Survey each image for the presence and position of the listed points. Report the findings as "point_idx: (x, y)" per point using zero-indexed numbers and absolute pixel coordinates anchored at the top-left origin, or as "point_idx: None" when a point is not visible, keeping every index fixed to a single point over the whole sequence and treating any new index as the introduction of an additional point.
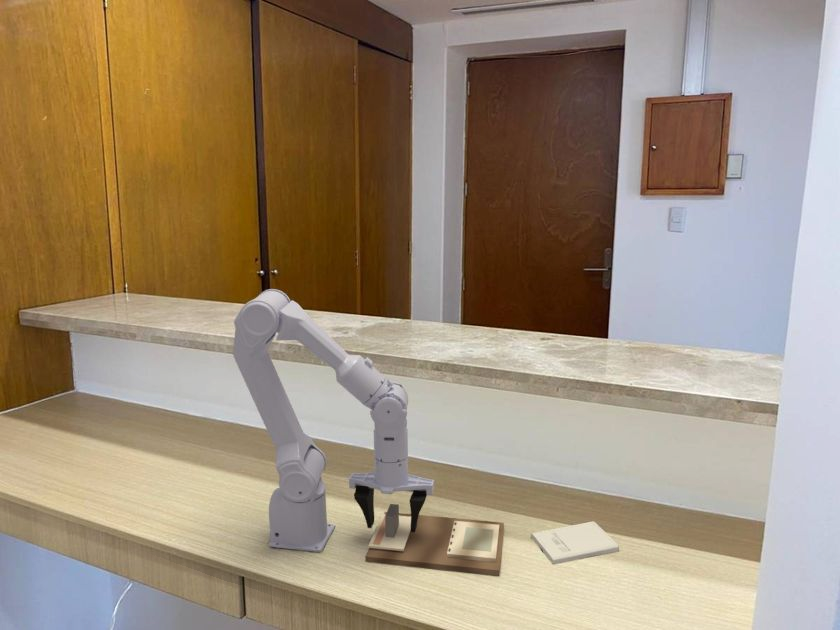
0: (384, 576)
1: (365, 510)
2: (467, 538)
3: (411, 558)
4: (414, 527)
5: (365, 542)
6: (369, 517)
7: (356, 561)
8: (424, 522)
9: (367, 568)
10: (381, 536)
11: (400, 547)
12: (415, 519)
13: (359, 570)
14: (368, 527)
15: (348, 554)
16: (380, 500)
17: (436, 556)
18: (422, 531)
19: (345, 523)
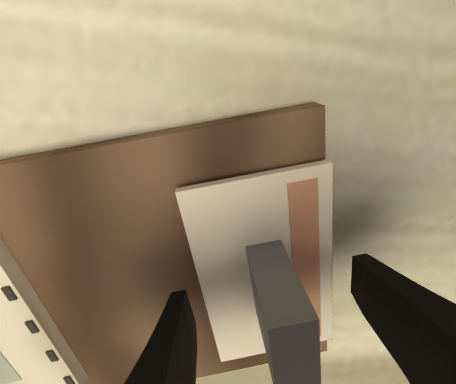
0: (200, 29)
1: (451, 316)
2: None
3: (125, 161)
4: (164, 311)
5: (345, 210)
6: (395, 289)
7: (350, 92)
8: None
9: (292, 61)
10: (297, 235)
11: (192, 198)
12: (147, 352)
13: (322, 34)
14: (366, 255)
15: (390, 124)
16: (350, 381)
17: (34, 210)
18: None
19: (430, 271)
